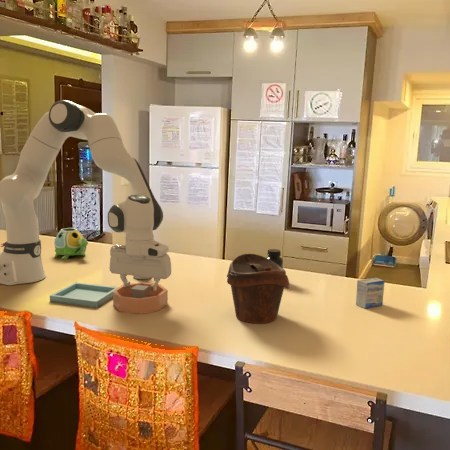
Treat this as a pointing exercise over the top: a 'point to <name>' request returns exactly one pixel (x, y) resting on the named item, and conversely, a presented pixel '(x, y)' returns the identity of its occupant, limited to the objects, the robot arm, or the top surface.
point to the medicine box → (370, 293)
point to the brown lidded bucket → (256, 287)
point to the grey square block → (140, 291)
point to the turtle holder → (70, 243)
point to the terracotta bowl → (140, 299)
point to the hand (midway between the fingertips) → (140, 288)
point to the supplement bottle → (275, 256)
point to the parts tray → (83, 294)
